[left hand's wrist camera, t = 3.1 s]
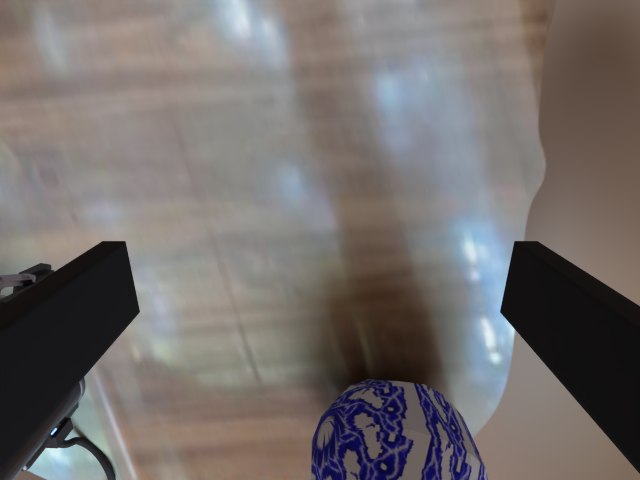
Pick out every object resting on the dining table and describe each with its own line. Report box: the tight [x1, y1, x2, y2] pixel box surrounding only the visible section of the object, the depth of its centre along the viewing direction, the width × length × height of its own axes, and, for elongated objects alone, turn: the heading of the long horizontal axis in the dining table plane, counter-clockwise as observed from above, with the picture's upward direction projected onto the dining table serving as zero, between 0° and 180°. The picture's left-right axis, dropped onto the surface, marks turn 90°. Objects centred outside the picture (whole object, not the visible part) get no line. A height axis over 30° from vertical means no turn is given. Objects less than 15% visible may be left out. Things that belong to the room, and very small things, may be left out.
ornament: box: [311, 379, 488, 480], centre depth 42 cm, size 20×20×20 cm
